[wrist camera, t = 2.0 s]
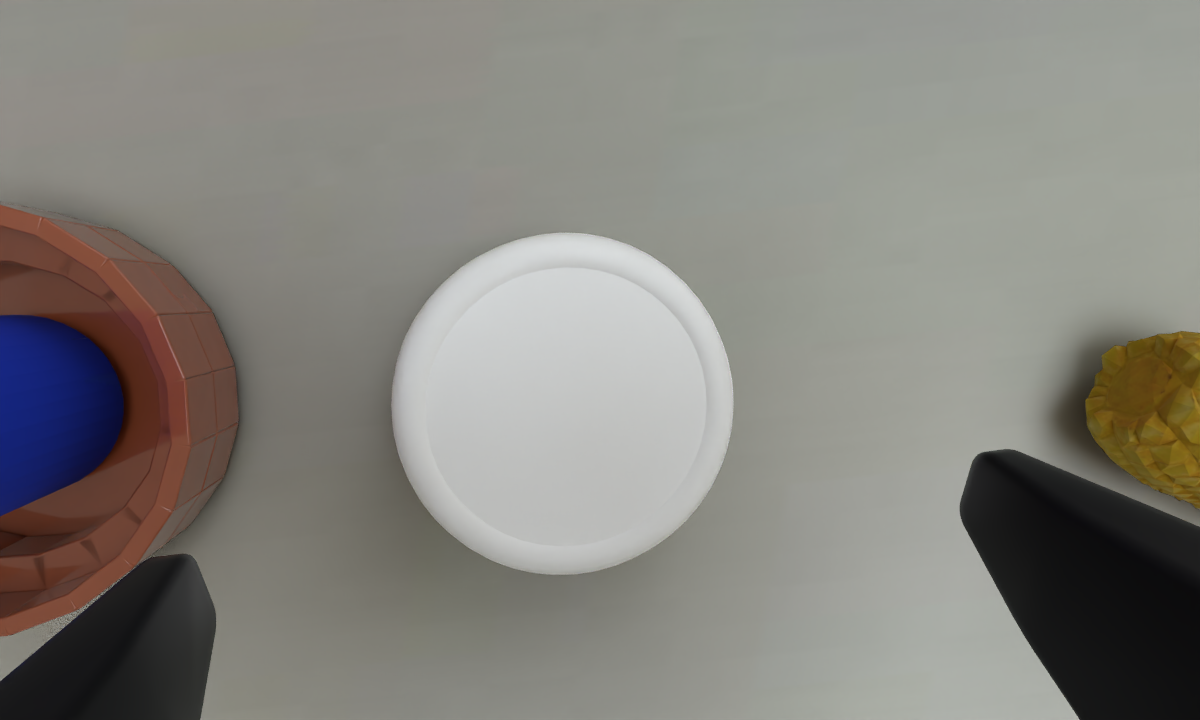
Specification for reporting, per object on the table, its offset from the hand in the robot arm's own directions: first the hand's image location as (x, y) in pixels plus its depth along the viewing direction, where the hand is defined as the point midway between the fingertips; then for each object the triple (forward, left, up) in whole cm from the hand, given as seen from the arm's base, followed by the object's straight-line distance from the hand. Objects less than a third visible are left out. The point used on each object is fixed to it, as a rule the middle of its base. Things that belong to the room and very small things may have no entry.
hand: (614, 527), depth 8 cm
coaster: (0, -1, -16) cm, 16 cm away
